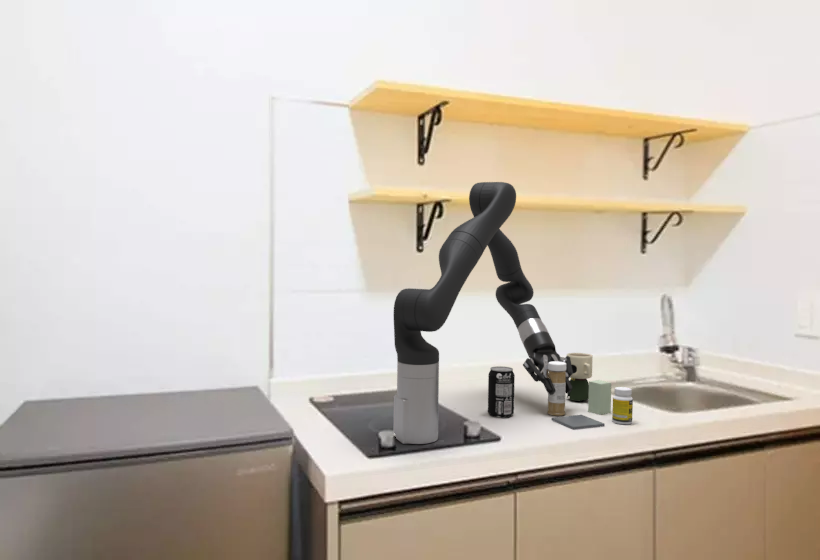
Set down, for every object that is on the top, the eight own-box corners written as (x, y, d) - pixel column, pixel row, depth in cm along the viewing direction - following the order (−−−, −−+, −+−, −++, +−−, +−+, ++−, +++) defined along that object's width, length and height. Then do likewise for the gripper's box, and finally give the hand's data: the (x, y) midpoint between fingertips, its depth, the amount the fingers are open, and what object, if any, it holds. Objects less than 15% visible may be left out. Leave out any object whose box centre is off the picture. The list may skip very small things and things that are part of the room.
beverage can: (496, 410, 169) (497, 365, 168) (518, 414, 164) (519, 368, 164) (482, 415, 164) (483, 368, 163) (505, 419, 159) (506, 371, 159)
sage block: (599, 414, 165) (600, 384, 165) (588, 411, 169) (588, 381, 168) (610, 413, 167) (611, 382, 167) (598, 409, 171) (599, 379, 170)
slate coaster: (573, 429, 151) (573, 427, 151) (551, 419, 160) (551, 417, 160) (604, 426, 155) (604, 423, 155) (581, 416, 163) (581, 414, 163)
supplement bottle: (631, 425, 155) (632, 391, 155) (611, 423, 157) (612, 389, 157) (632, 420, 160) (633, 387, 159) (612, 418, 161) (613, 385, 161)
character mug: (557, 396, 186) (558, 351, 185) (580, 395, 187) (581, 351, 187) (576, 405, 175) (577, 358, 174) (600, 404, 177) (601, 357, 176)
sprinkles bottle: (562, 411, 168) (563, 360, 167) (567, 416, 163) (568, 363, 163) (545, 411, 168) (546, 360, 167) (549, 416, 163) (550, 363, 162)
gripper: (518, 331, 169) (543, 386, 158) (564, 329, 174) (591, 382, 163) (507, 348, 174) (531, 402, 163) (552, 346, 179) (578, 398, 169)
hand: (561, 392), depth 163 cm, fingers closed on sprinkles bottle, 4 cm apart
